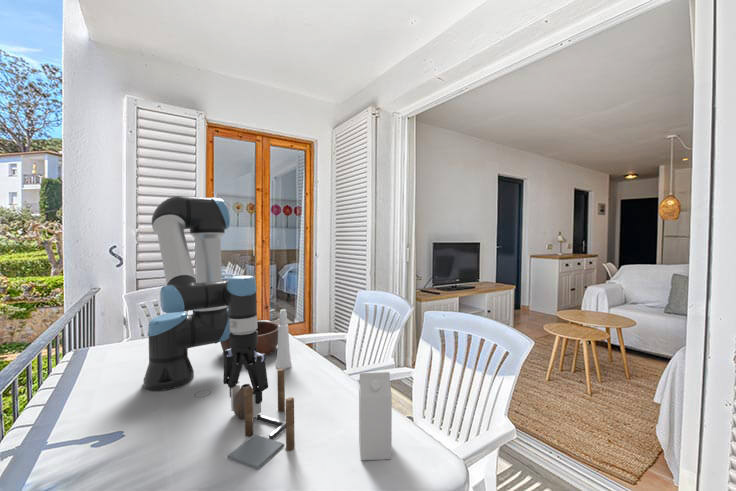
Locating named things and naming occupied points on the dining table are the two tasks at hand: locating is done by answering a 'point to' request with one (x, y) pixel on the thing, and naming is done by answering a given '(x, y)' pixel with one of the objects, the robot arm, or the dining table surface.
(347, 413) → the dining table surface
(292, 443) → the posts
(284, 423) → the grey l-shaped bracket
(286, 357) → the cosmetic bottle
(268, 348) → the wooden bowl
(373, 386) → the milk carton
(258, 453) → the pad
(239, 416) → the vase
